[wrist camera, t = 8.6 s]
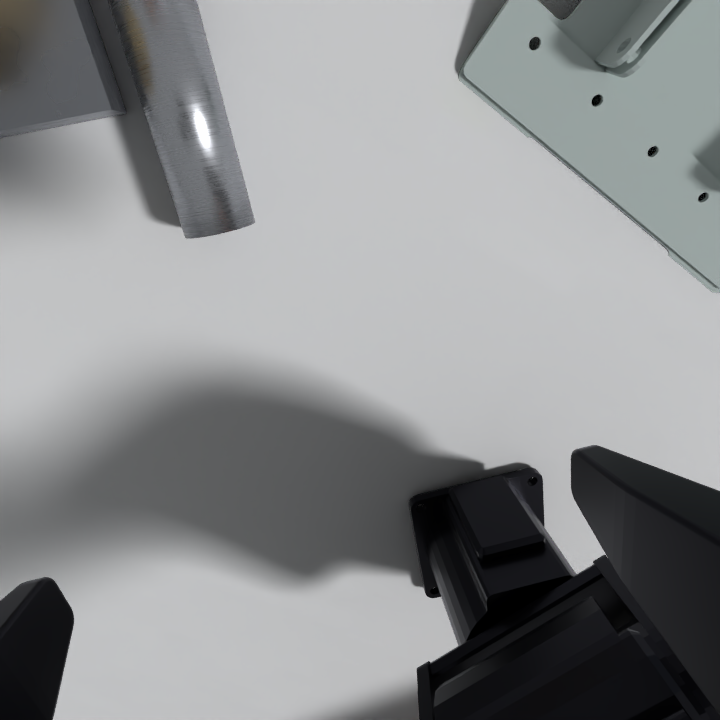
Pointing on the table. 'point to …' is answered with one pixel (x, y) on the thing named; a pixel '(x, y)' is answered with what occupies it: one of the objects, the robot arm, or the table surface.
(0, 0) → the square base plate
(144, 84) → the steel pin
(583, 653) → the robot arm
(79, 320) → the table surface
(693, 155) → the metal bracket
